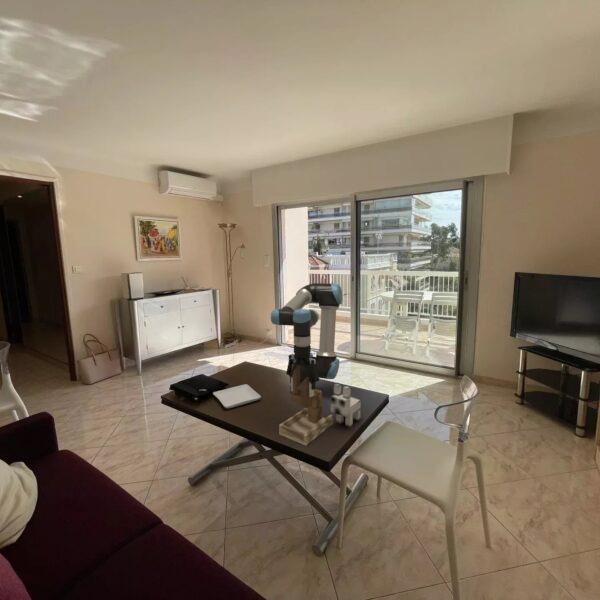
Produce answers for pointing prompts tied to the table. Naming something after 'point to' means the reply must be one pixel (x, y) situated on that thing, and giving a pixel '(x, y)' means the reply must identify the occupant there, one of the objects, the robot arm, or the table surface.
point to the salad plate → (237, 396)
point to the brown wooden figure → (300, 389)
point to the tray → (303, 427)
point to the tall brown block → (315, 407)
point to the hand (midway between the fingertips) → (302, 393)
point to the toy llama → (345, 405)
